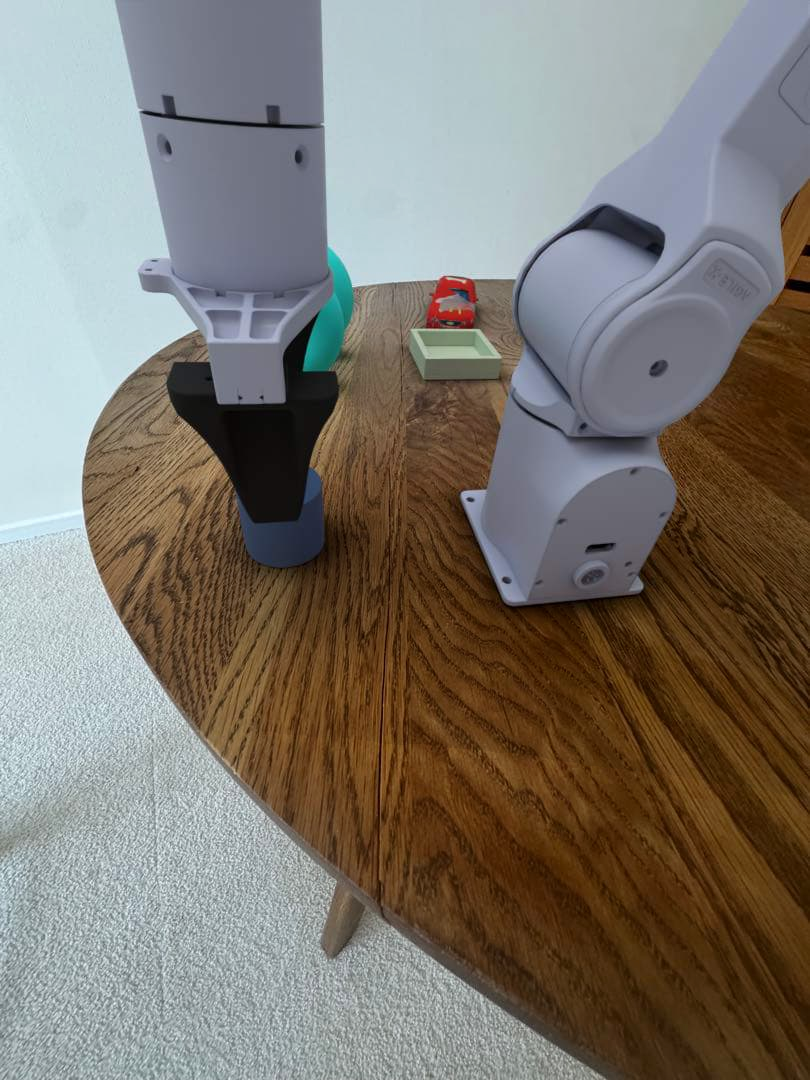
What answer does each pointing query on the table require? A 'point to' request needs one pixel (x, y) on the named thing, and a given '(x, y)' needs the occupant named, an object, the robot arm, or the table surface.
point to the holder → (454, 354)
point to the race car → (452, 304)
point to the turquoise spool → (331, 320)
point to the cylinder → (288, 531)
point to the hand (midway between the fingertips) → (276, 469)
